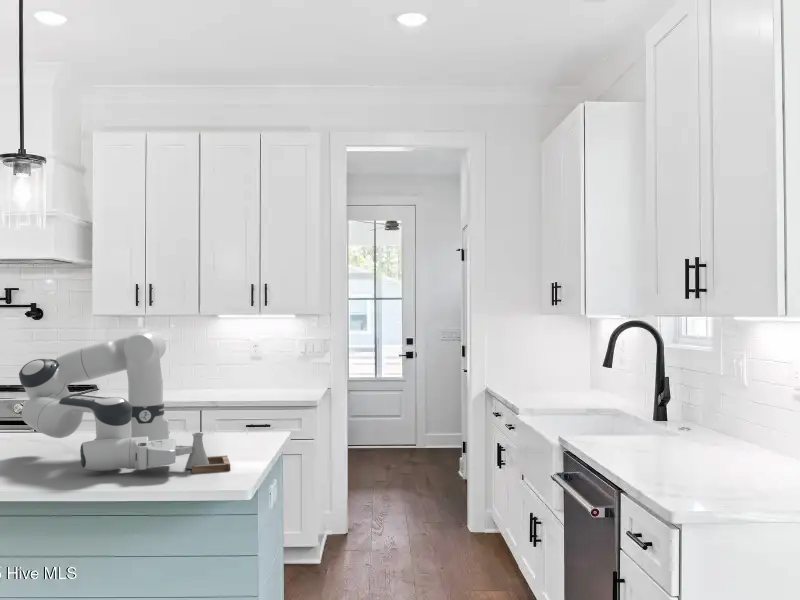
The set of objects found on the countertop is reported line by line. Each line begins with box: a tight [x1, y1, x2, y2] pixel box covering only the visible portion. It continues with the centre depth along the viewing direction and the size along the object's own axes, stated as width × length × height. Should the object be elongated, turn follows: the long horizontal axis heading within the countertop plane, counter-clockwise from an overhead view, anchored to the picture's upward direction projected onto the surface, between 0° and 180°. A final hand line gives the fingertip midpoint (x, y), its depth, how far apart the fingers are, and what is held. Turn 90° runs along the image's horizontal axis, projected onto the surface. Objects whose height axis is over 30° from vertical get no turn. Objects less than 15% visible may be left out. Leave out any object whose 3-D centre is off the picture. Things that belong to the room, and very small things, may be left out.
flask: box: [185, 432, 210, 470], centre depth 206 cm, size 7×7×10 cm
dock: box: [191, 455, 231, 474], centre depth 207 cm, size 13×10×2 cm
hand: (192, 449), depth 205 cm, fingers closed, pressing on flask
